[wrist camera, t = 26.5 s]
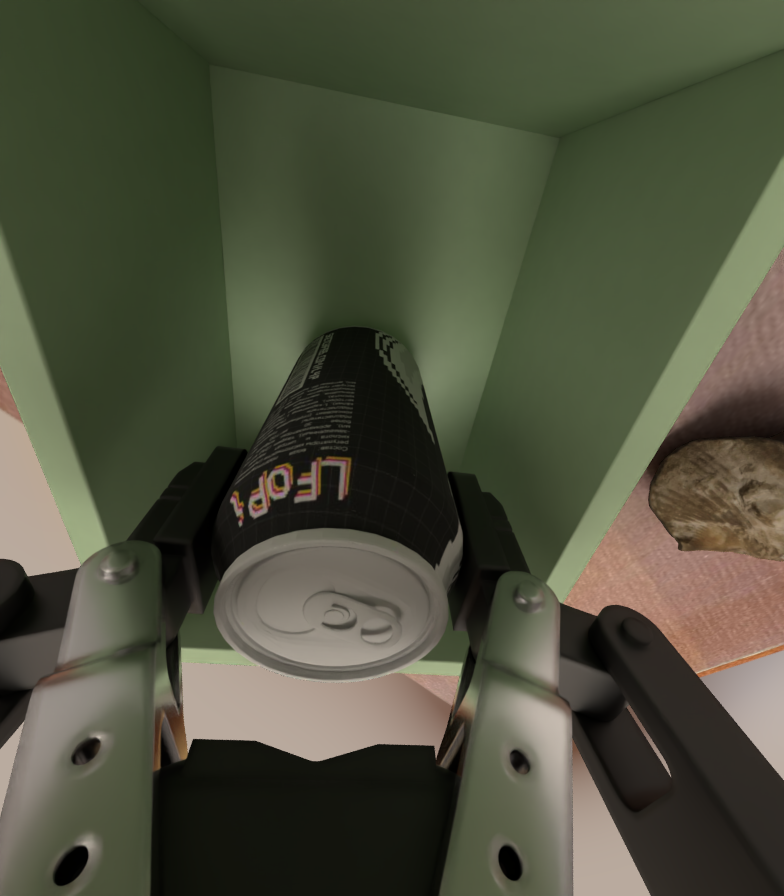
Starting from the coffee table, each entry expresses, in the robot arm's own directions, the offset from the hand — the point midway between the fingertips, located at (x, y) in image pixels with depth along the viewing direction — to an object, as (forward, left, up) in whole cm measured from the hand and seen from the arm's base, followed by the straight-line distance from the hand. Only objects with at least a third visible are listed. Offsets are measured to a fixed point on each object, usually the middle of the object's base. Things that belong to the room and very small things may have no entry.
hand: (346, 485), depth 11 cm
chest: (0, +2, -9) cm, 9 cm away
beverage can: (0, 0, -8) cm, 8 cm away
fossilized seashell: (+22, -3, -9) cm, 24 cm away
